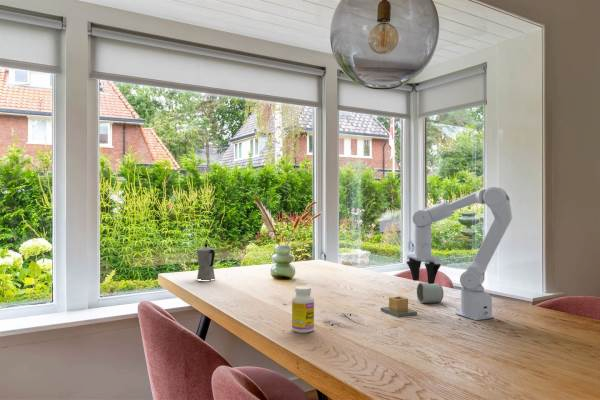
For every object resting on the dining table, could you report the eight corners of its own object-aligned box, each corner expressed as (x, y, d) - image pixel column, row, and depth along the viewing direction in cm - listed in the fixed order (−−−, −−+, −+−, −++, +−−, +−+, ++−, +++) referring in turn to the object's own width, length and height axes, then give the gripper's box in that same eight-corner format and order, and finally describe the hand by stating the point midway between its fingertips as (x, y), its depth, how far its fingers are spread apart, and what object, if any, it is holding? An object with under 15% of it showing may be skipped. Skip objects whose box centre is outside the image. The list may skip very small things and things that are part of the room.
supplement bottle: (306, 334, 130) (306, 290, 130) (287, 331, 134) (287, 288, 134) (318, 329, 136) (318, 286, 136) (299, 326, 140) (299, 284, 140)
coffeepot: (191, 279, 223) (191, 242, 223) (208, 277, 228) (208, 241, 228) (204, 283, 210) (204, 245, 210) (223, 281, 216) (222, 244, 216)
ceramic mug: (444, 304, 168) (444, 283, 168) (424, 305, 167) (423, 284, 167) (432, 298, 179) (432, 279, 179) (412, 299, 178) (412, 279, 178)
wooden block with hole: (408, 310, 155) (408, 298, 155) (397, 311, 153) (397, 300, 153) (399, 307, 159) (399, 296, 159) (389, 308, 157) (388, 297, 157)
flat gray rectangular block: (417, 314, 153) (417, 302, 153) (398, 317, 150) (398, 305, 150) (399, 308, 162) (399, 297, 162) (380, 310, 159) (380, 299, 159)
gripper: (446, 244, 156) (446, 284, 156) (417, 241, 169) (417, 277, 169) (431, 246, 153) (431, 286, 152) (402, 242, 165) (403, 279, 165)
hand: (423, 281), depth 160 cm, fingers open, 7 cm apart
